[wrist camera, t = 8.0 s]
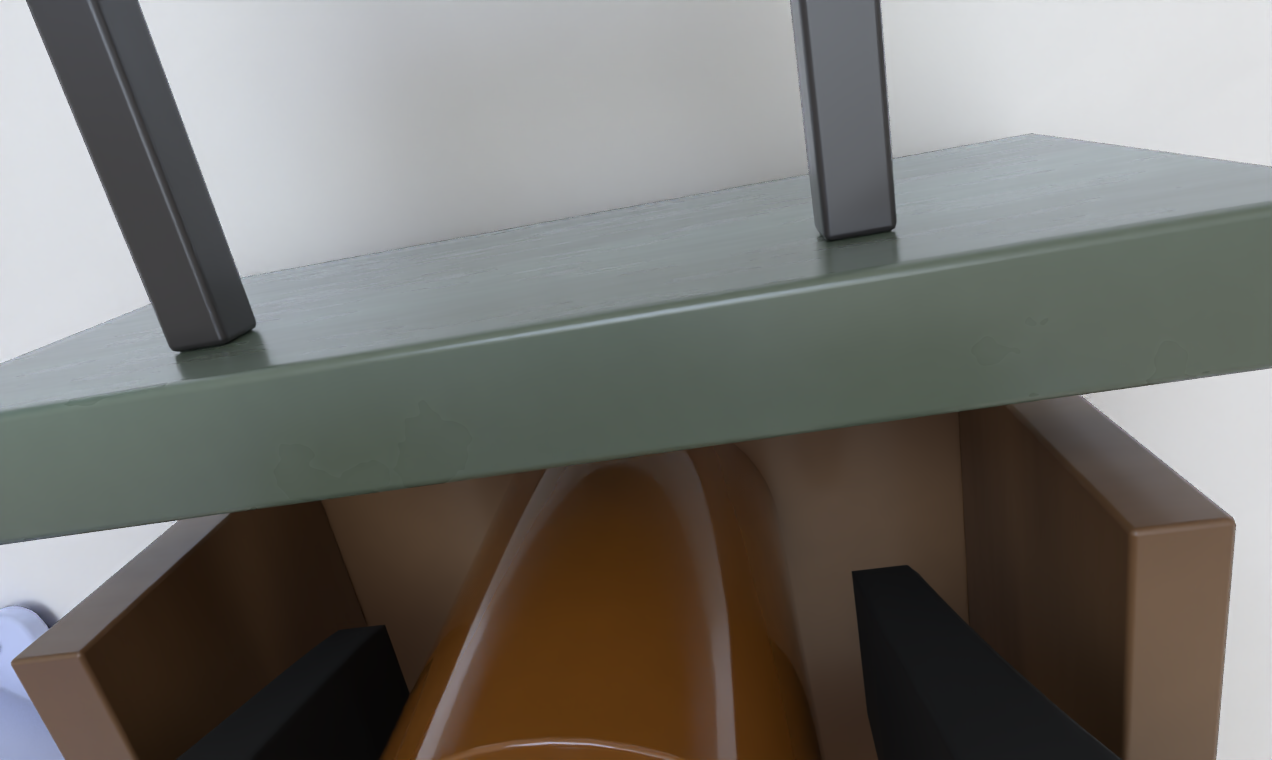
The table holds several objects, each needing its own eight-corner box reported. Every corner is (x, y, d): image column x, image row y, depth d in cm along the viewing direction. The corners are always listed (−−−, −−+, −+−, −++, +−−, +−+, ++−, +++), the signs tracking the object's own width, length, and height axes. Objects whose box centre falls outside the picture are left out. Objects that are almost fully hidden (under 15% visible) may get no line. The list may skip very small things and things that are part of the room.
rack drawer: (60, -57, 10) (-633, -213, 5) (1030, -304, 9) (1572, -936, 3) (419, 864, 16) (280, 1256, 11) (1044, 820, 15) (1252, 1256, 9)
